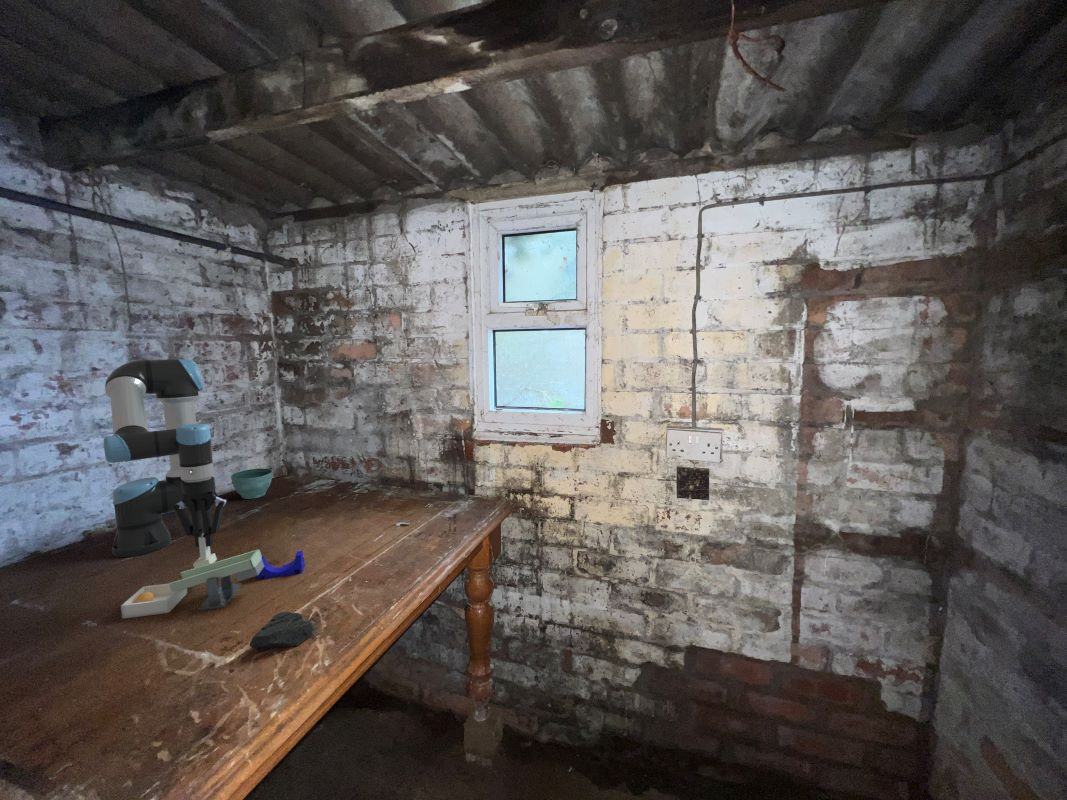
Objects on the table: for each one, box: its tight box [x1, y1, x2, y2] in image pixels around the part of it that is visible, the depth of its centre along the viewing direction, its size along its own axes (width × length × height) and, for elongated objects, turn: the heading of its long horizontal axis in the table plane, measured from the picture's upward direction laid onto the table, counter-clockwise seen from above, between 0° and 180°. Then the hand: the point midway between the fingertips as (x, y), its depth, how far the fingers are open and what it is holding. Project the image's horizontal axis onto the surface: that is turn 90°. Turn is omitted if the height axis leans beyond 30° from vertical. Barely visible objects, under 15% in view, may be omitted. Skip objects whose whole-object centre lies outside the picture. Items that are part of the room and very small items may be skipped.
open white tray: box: [120, 583, 188, 620], centre depth 116 cm, size 10×9×4 cm
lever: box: [168, 549, 264, 592], centre depth 123 cm, size 20×14×5 cm
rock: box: [249, 611, 314, 651], centre depth 101 cm, size 10×6×10 cm
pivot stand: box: [198, 575, 242, 611], centre depth 119 cm, size 6×11×8 cm, turn 14°
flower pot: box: [230, 467, 273, 500], centre depth 199 cm, size 16×16×11 cm
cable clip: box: [256, 550, 306, 581], centre depth 132 cm, size 12×4×6 cm, turn 108°
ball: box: [136, 592, 154, 603], centre depth 115 cm, size 4×4×4 cm
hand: (205, 556), depth 125 cm, fingers closed
